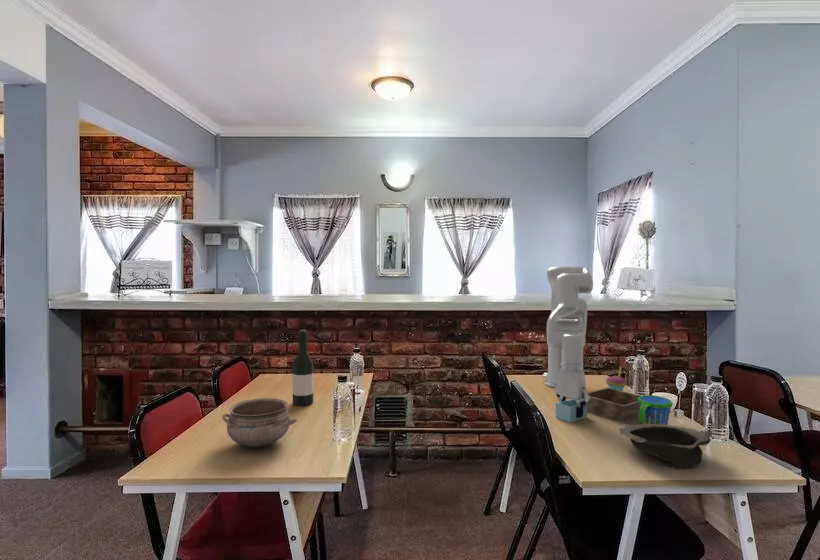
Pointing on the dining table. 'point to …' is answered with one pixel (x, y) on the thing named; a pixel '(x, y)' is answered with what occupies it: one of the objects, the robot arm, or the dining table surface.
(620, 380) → the cupcake
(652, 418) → the snack cup
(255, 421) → the cooking pot
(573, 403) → the small crate
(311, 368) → the wine bottle
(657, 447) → the stone bowl
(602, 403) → the big crate
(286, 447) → the dining table surface
